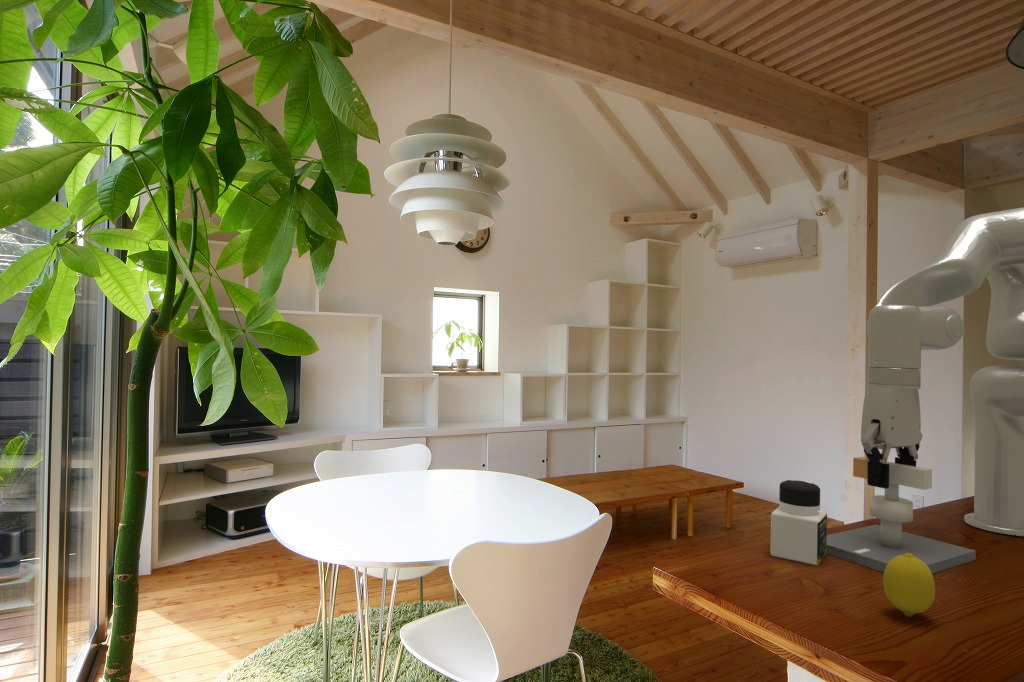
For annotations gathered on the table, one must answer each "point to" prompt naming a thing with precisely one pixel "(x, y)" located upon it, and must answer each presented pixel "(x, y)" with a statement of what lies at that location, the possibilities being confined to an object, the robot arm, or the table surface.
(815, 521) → the medicine bottle
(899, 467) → the grey and orange blocks
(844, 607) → the table surface
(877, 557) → the coupling base
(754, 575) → the table surface
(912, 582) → the lemon
